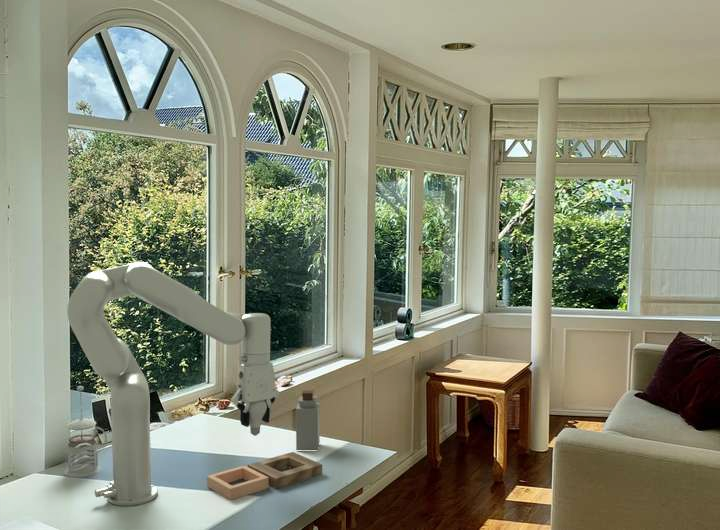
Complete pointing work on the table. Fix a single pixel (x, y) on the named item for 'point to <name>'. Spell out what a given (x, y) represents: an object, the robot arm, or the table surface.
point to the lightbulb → (256, 415)
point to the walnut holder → (299, 472)
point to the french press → (83, 448)
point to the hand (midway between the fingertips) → (255, 422)
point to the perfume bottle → (307, 422)
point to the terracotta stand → (252, 484)
